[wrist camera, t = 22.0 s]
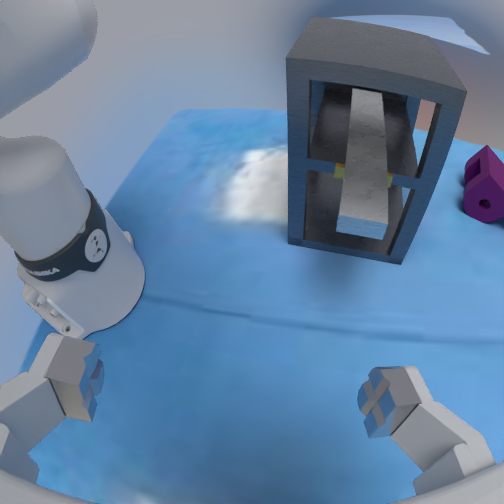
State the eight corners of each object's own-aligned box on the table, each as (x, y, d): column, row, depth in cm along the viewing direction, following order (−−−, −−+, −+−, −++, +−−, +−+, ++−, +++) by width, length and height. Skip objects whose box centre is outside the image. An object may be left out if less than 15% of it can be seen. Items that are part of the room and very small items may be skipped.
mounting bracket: (508, 228, 50) (456, 168, 50) (538, 210, 43) (486, 144, 42) (509, 263, 46) (454, 200, 45) (543, 245, 38) (489, 174, 38)
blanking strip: (336, 231, 26) (338, 214, 25) (351, 100, 40) (352, 88, 38) (382, 239, 25) (387, 224, 24) (379, 105, 39) (381, 93, 37)
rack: (286, 247, 44) (284, 59, 23) (309, 160, 55) (312, 16, 34) (400, 268, 41) (469, 94, 20) (398, 175, 52) (428, 36, 31)
